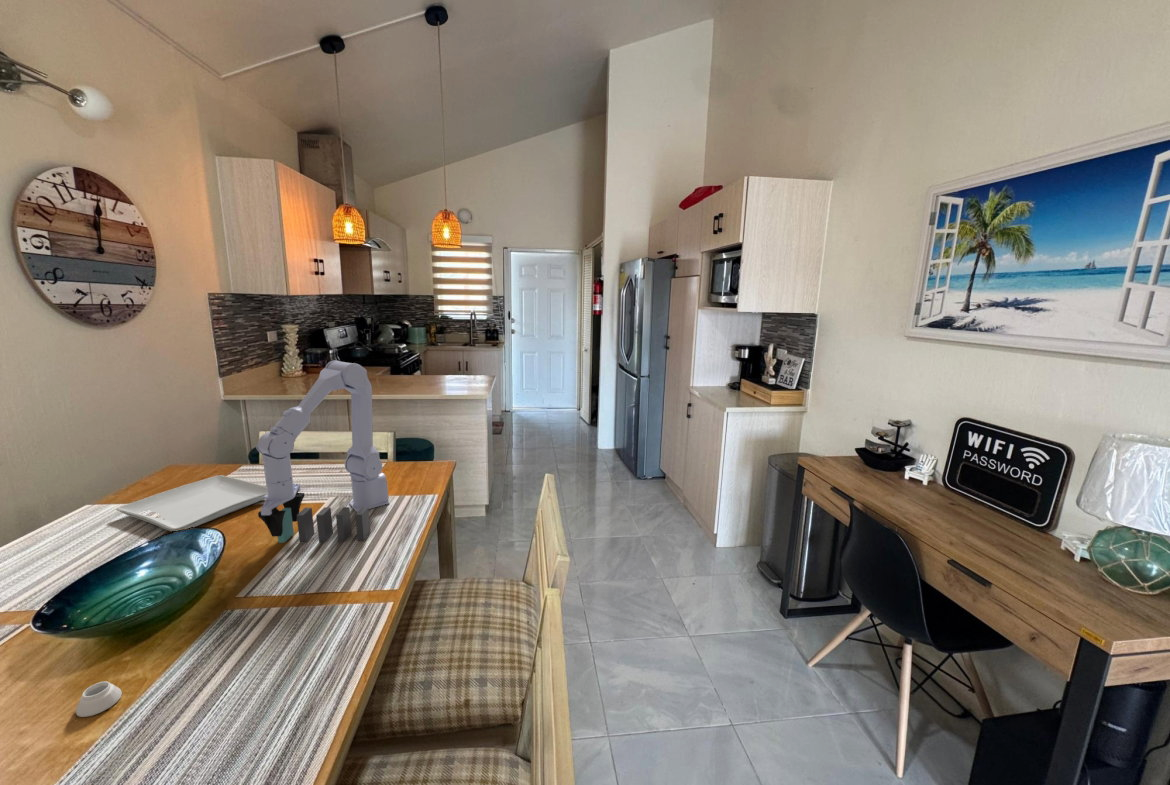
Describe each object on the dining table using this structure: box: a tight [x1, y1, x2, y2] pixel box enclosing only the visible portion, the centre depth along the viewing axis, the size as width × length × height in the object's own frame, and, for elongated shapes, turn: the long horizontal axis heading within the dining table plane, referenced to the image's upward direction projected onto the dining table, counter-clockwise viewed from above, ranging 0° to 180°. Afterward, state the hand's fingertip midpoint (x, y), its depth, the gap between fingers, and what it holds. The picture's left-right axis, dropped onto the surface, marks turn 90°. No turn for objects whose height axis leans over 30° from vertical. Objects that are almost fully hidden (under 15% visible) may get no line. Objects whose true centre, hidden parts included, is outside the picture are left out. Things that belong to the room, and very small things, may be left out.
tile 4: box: [297, 507, 315, 543], centre depth 123 cm, size 2×4×8 cm, turn 4°
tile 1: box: [355, 507, 371, 542], centre depth 124 cm, size 2×4×8 cm, turn 4°
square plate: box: [115, 474, 267, 532], centre depth 139 cm, size 27×27×4 cm
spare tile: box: [277, 507, 295, 544], centre depth 123 cm, size 2×4×8 cm, turn 4°
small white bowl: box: [74, 680, 123, 718], centre depth 74 cm, size 5×3×5 cm
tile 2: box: [335, 506, 353, 543], centre depth 124 cm, size 2×4×8 cm, turn 4°
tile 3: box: [315, 506, 334, 543], centre depth 123 cm, size 2×4×8 cm, turn 4°
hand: (285, 528), depth 123 cm, fingers open, 7 cm apart
